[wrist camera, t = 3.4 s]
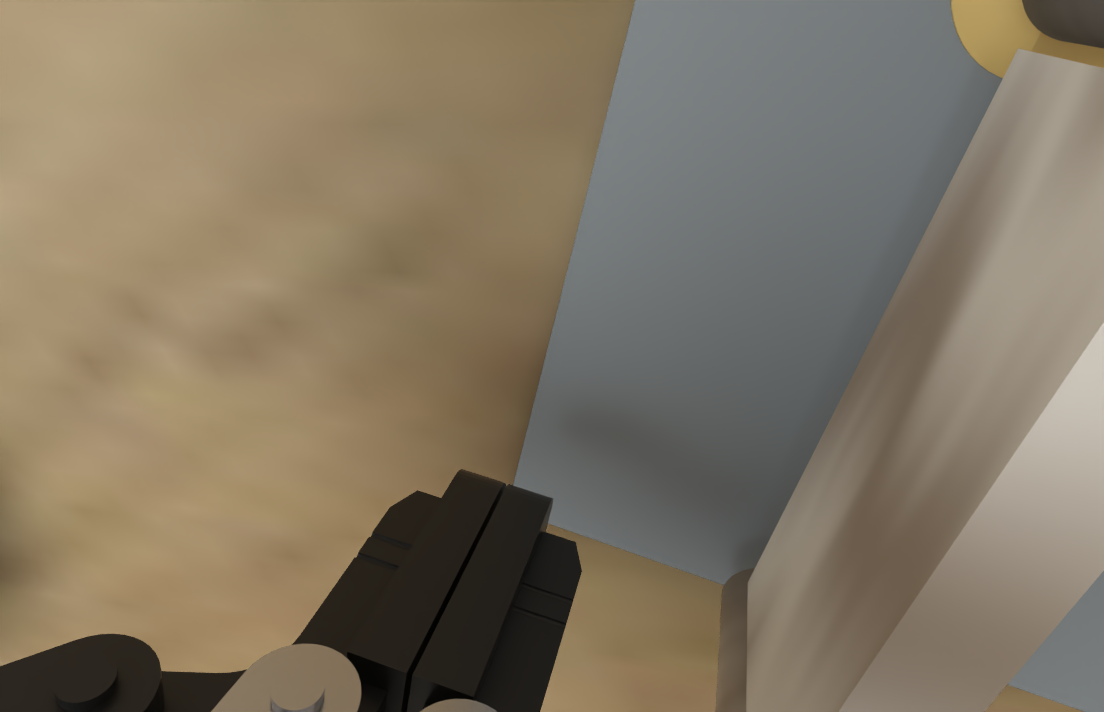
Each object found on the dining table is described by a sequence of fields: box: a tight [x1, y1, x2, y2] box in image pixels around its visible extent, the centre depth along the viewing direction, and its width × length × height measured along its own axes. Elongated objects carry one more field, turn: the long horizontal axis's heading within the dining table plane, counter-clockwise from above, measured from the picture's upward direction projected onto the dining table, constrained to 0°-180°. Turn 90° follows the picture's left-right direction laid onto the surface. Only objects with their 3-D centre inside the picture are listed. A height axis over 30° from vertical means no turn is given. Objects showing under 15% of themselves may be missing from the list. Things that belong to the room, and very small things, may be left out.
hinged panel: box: [715, 0, 1104, 712], centre depth 9 cm, size 13×2×6 cm, turn 167°
